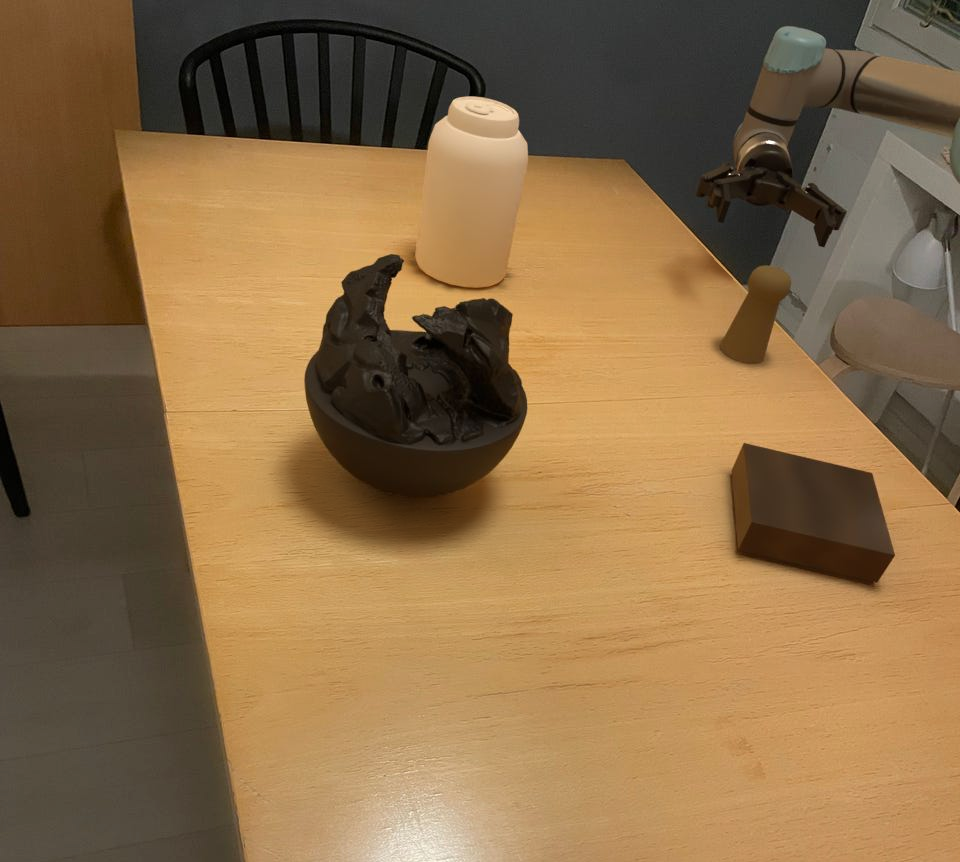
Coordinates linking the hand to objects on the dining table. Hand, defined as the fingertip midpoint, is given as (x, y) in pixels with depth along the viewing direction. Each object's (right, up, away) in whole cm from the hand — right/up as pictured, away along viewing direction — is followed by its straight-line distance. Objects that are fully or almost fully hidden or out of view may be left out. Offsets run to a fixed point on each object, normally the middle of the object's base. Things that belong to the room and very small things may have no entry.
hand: (775, 224), depth 117 cm
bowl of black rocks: (-45, -38, -29) cm, 66 cm away
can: (-41, -4, +6) cm, 41 cm away
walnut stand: (-5, -42, -24) cm, 49 cm away
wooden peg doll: (-4, -16, +2) cm, 16 cm away
